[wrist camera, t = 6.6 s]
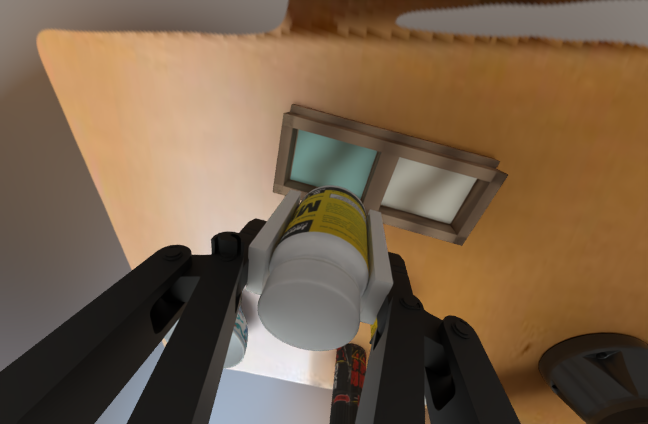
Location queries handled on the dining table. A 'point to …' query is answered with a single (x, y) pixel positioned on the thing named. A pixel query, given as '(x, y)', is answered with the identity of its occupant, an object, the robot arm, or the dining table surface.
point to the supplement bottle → (318, 273)
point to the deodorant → (347, 383)
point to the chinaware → (231, 341)
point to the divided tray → (387, 173)
